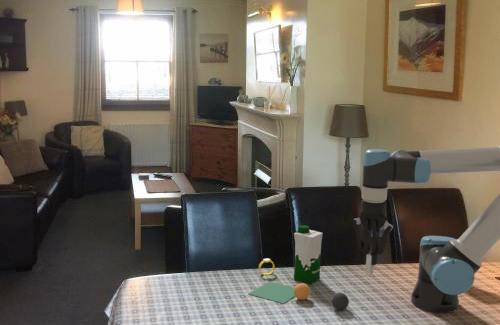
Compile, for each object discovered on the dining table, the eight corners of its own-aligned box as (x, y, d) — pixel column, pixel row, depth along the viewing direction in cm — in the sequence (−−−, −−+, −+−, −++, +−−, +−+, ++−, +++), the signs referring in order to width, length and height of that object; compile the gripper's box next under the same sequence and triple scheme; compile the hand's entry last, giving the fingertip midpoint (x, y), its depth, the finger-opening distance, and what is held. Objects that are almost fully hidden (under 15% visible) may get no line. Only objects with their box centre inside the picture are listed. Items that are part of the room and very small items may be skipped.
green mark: (303, 290, 198) (303, 290, 198) (283, 303, 186) (283, 303, 186) (269, 281, 205) (269, 281, 205) (248, 294, 194) (248, 293, 194)
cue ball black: (351, 308, 183) (351, 292, 183) (344, 314, 179) (344, 298, 178) (335, 304, 186) (336, 288, 186) (328, 310, 182) (329, 294, 181)
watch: (260, 277, 211) (259, 261, 210) (258, 274, 213) (257, 259, 212) (275, 274, 212) (275, 259, 211) (273, 272, 215) (272, 257, 214)
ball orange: (312, 298, 191) (313, 283, 190) (305, 303, 187) (305, 288, 186) (298, 294, 194) (298, 279, 193) (290, 299, 190) (291, 284, 189)
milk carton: (302, 273, 214) (304, 222, 211) (323, 279, 209) (325, 227, 206) (290, 280, 207) (291, 227, 204) (311, 286, 202) (313, 232, 199)
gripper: (399, 201, 171) (393, 275, 175) (358, 194, 178) (354, 266, 182) (390, 205, 165) (385, 282, 169) (349, 199, 172) (345, 272, 176)
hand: (369, 273), depth 175 cm, fingers closed
